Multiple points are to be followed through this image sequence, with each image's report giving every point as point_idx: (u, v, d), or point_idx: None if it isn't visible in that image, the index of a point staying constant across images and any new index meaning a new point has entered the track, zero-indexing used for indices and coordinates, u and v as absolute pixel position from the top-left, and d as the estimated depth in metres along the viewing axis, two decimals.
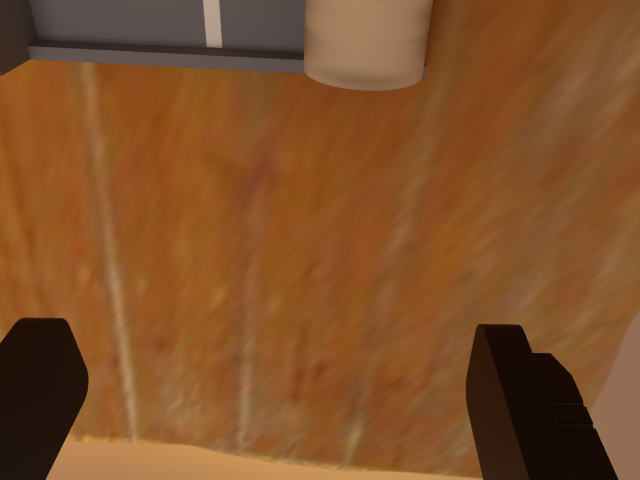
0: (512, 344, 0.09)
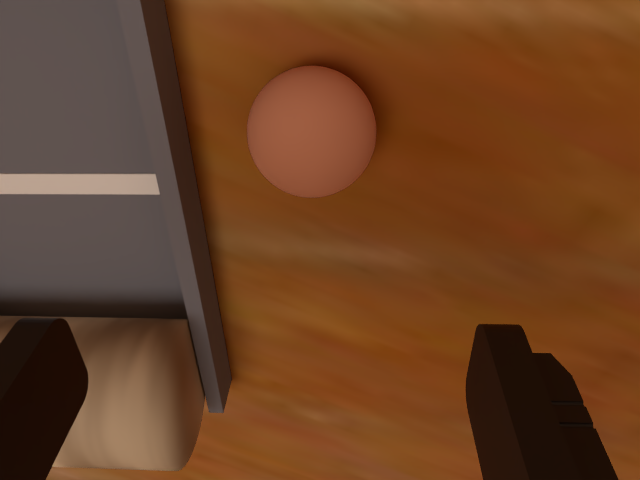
0: (512, 344, 0.09)
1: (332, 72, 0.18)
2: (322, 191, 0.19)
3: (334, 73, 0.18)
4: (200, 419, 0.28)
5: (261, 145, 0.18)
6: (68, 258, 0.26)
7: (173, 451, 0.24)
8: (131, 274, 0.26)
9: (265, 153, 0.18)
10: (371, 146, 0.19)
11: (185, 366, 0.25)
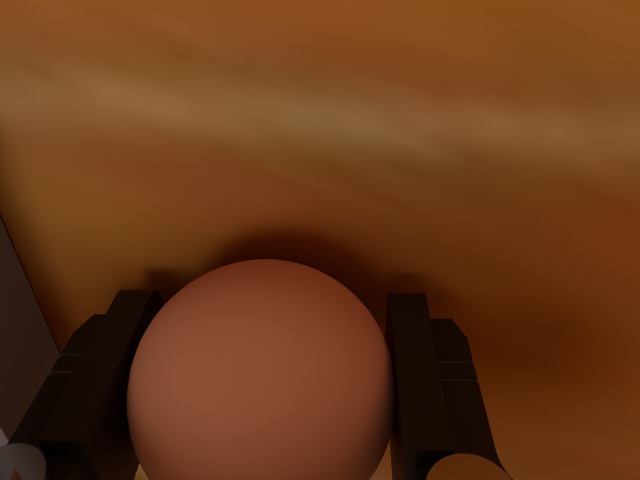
0: (413, 309, 0.10)
1: (303, 296, 0.08)
2: None
3: (307, 299, 0.08)
4: None
5: (147, 465, 0.08)
6: None
7: None
8: None
9: None
10: (387, 440, 0.09)
11: None
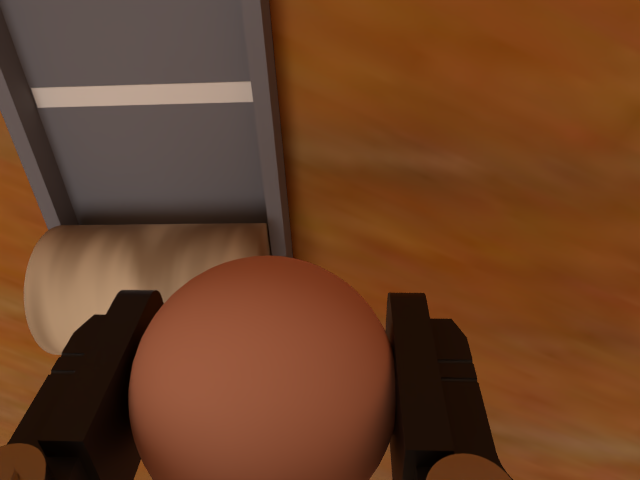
0: (413, 309, 0.10)
1: (305, 292, 0.08)
2: None
3: (309, 295, 0.08)
4: None
5: (148, 462, 0.08)
6: (157, 169, 0.28)
7: None
8: (213, 184, 0.29)
9: (156, 478, 0.08)
10: (390, 436, 0.09)
11: None
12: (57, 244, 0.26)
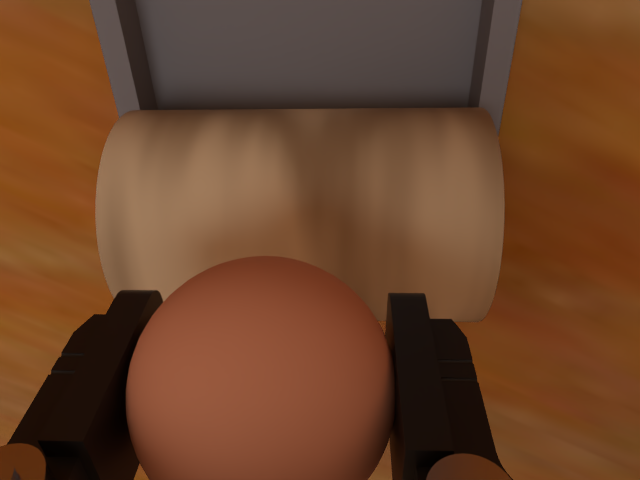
0: (413, 309, 0.10)
1: (302, 292, 0.08)
2: None
3: (307, 295, 0.08)
4: None
5: (146, 462, 0.08)
6: (299, 24, 0.18)
7: None
8: (385, 51, 0.18)
9: (153, 478, 0.08)
10: (388, 437, 0.09)
11: None
12: (148, 128, 0.16)
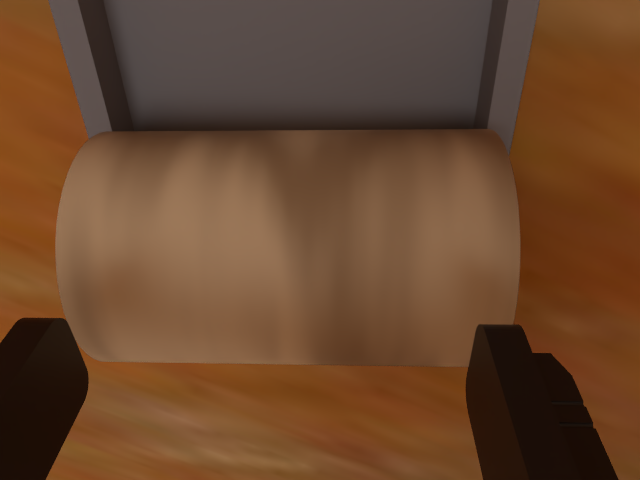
0: (512, 344, 0.09)
1: None
2: None
3: None
4: None
5: None
6: (288, 35, 0.16)
7: None
8: (384, 65, 0.16)
9: None
10: None
11: None
12: (117, 154, 0.14)
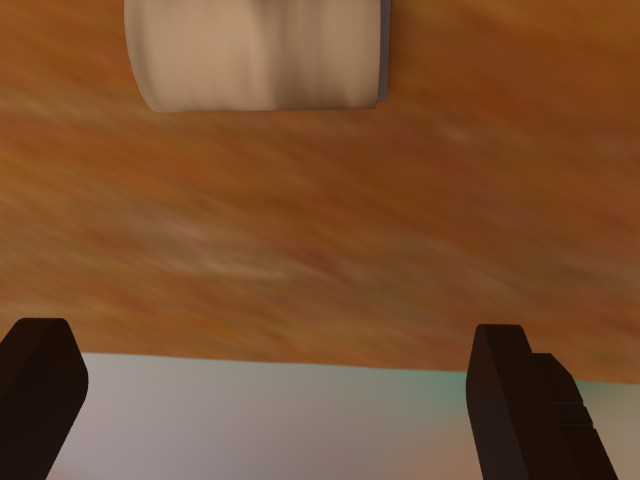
0: (512, 344, 0.09)
1: None
2: None
3: None
4: None
5: None
6: None
7: None
8: None
9: None
10: None
11: None
12: None
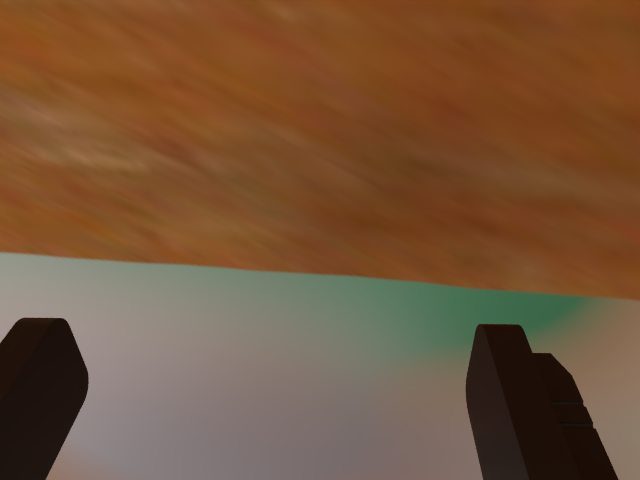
0: (512, 344, 0.09)
1: None
2: None
3: None
4: None
5: None
6: None
7: None
8: None
9: None
10: None
11: None
12: None
